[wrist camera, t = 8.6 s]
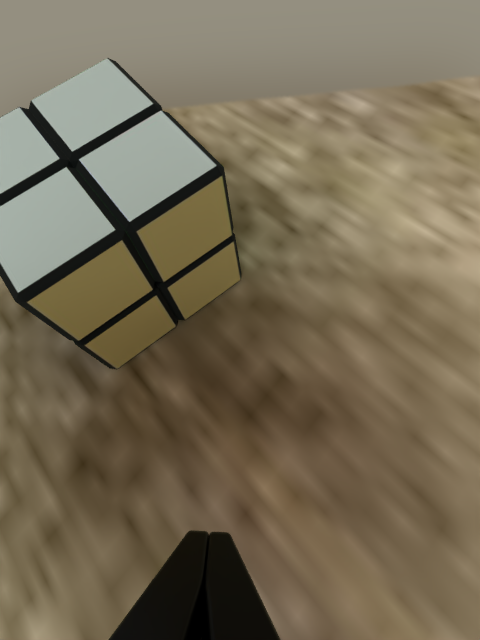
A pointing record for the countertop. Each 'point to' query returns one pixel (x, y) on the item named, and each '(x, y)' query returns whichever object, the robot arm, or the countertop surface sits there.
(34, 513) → the countertop surface
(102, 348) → the puzzle cube
